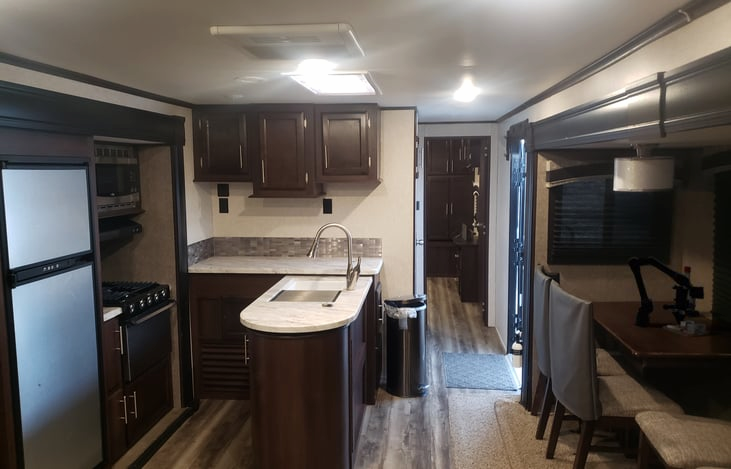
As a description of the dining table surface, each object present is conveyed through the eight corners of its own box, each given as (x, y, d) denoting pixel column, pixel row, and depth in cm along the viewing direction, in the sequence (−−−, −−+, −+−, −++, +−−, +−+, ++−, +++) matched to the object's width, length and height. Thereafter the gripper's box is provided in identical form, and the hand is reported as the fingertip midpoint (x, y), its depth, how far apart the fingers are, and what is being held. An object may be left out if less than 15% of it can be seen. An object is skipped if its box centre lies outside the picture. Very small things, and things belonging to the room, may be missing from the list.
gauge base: (687, 337, 278) (688, 326, 278) (662, 328, 294) (663, 319, 293) (708, 334, 282) (708, 324, 282) (682, 326, 298) (682, 317, 297)
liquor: (678, 312, 329) (681, 265, 326) (695, 315, 322) (698, 266, 319) (674, 315, 322) (676, 266, 319) (691, 318, 316) (694, 268, 313)
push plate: (680, 330, 284) (680, 323, 284) (675, 328, 287) (675, 321, 287) (693, 328, 287) (694, 321, 287) (689, 327, 290) (689, 320, 290)
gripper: (708, 300, 284) (706, 328, 286) (678, 293, 302) (677, 319, 303) (691, 301, 281) (690, 330, 282) (662, 294, 299) (661, 321, 300)
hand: (679, 325), depth 292 cm, fingers closed
